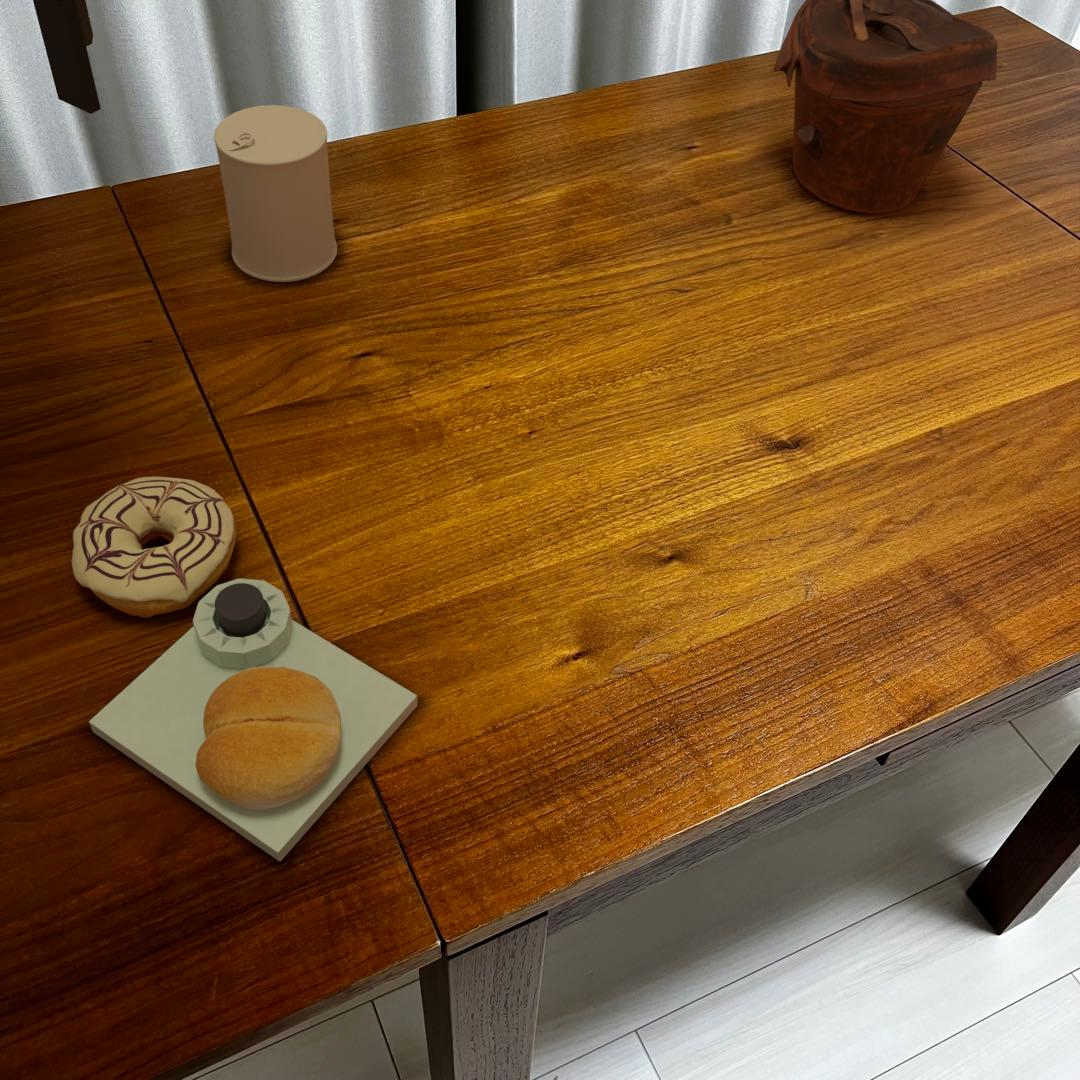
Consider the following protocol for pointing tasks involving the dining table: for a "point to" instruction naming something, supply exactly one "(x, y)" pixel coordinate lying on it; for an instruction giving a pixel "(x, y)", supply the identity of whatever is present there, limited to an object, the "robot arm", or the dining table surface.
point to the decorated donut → (162, 572)
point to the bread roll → (268, 737)
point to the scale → (208, 660)
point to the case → (879, 95)
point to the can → (277, 192)
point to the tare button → (240, 609)
